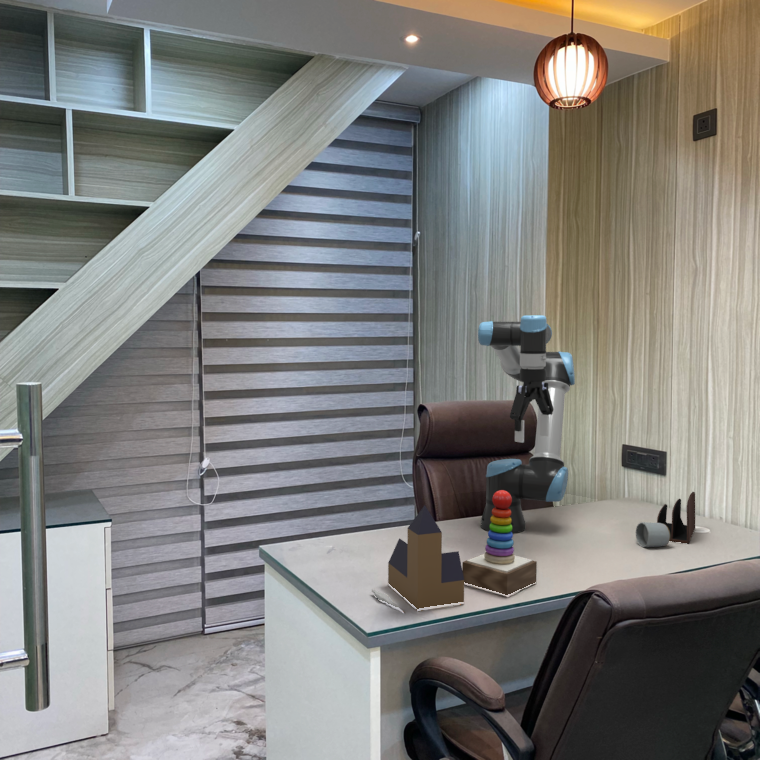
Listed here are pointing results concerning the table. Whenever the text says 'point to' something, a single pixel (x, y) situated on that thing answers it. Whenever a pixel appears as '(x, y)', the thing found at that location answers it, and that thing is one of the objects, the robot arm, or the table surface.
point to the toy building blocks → (426, 566)
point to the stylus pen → (384, 597)
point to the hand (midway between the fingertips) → (531, 439)
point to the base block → (500, 574)
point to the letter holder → (677, 527)
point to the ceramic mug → (652, 534)
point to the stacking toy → (500, 531)
